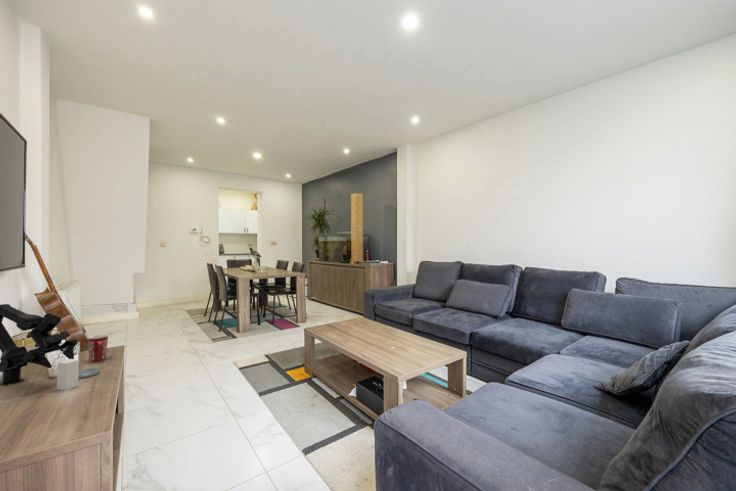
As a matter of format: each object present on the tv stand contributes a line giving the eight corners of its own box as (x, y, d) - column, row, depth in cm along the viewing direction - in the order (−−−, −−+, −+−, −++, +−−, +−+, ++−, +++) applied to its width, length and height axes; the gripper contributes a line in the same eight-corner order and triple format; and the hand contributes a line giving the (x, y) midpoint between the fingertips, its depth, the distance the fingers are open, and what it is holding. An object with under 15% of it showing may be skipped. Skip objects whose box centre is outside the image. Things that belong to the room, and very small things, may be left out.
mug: (86, 359, 175) (87, 336, 175) (106, 356, 181) (107, 333, 182) (87, 365, 166) (88, 341, 166) (109, 362, 172) (110, 337, 173)
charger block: (56, 389, 138) (57, 362, 139) (68, 384, 143) (70, 358, 143) (66, 390, 138) (67, 363, 138) (78, 385, 143) (79, 359, 143)
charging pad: (65, 376, 151) (65, 374, 151) (92, 369, 162) (92, 366, 162) (77, 380, 147) (77, 378, 147) (104, 372, 157) (104, 370, 157)
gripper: (29, 331, 133) (49, 359, 131) (75, 322, 151) (94, 346, 150) (13, 349, 134) (33, 376, 132) (61, 337, 152) (79, 361, 151)
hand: (62, 363), depth 141 cm, fingers open, 9 cm apart
